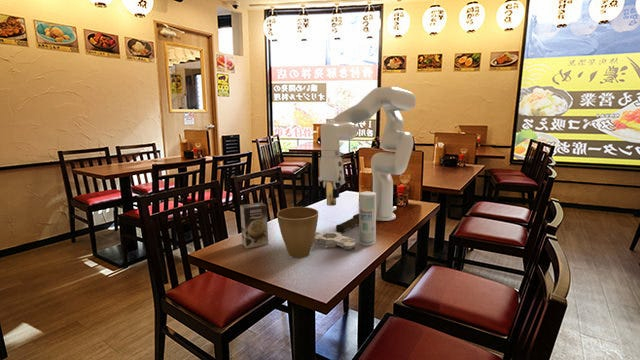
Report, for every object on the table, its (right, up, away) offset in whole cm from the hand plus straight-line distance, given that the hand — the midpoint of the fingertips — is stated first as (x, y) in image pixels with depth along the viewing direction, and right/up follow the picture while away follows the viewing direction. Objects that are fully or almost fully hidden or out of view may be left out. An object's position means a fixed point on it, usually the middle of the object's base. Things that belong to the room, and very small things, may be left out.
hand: (331, 196), depth 148 cm
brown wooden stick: (+8, -15, +11) cm, 20 cm away
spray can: (+14, -18, -9) cm, 24 cm away
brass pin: (0, -3, 0) cm, 3 cm away
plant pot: (-13, -20, -19) cm, 31 cm away
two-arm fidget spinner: (-1, -18, -8) cm, 20 cm away
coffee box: (-31, -19, -8) cm, 37 cm away
